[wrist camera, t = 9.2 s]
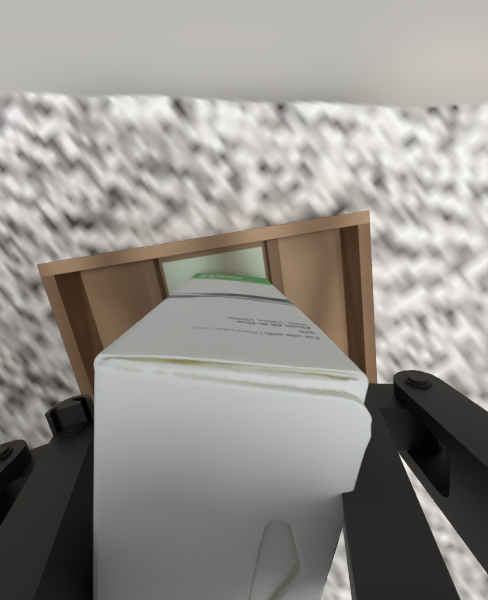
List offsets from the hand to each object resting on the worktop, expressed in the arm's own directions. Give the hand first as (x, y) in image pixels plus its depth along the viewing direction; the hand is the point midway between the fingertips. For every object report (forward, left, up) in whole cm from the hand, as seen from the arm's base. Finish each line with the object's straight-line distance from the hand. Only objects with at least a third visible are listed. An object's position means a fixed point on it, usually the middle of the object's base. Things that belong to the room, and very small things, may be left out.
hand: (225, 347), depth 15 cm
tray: (0, 0, -6) cm, 6 cm away
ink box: (0, 0, -2) cm, 2 cm away
